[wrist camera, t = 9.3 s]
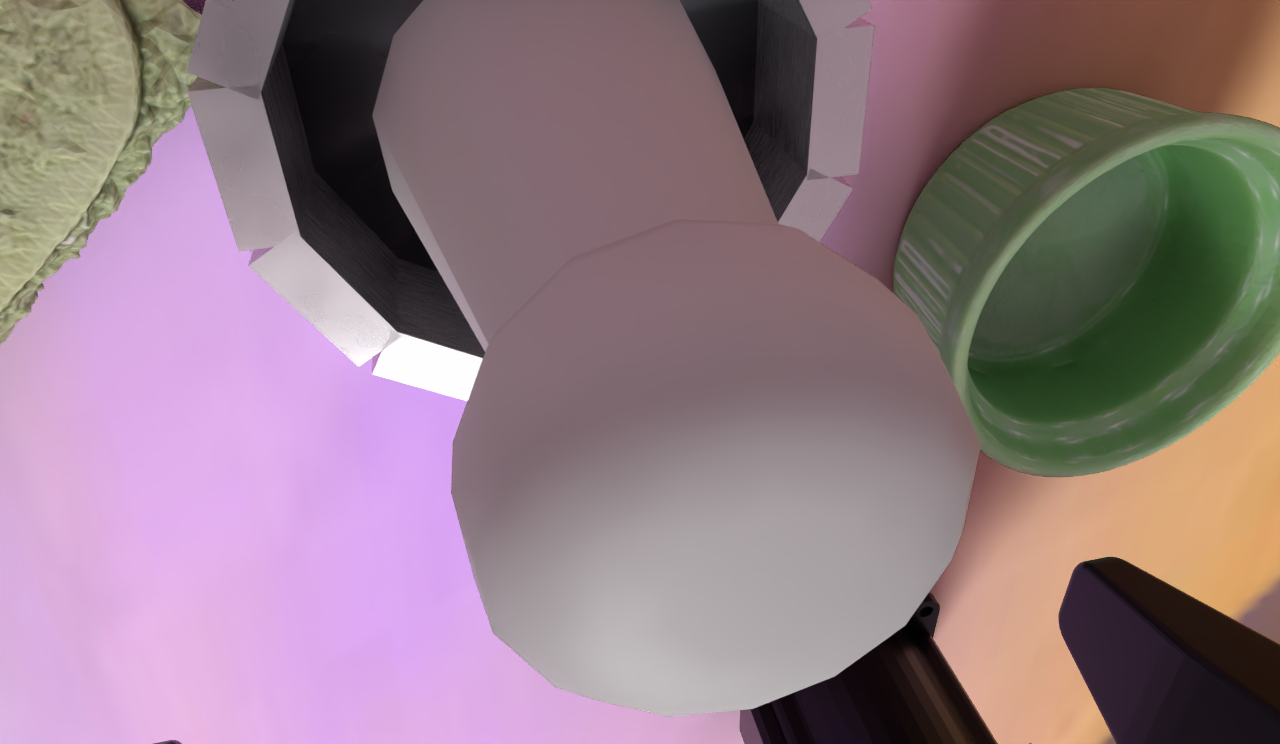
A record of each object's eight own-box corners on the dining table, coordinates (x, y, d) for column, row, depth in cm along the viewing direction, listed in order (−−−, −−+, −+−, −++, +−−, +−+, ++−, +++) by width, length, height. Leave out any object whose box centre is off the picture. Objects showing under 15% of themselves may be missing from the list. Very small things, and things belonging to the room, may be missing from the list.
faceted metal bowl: (808, -277, 16) (915, -291, 12) (776, 276, 22) (842, 363, 19) (142, -252, 14) (65, -260, 11) (314, 342, 20) (297, 451, 17)
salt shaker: (453, 266, 19) (524, 898, 8) (319, -10, 15) (146, 463, 5) (712, 168, 19) (1111, 669, 8) (635, -128, 15) (1143, 86, 5)
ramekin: (1239, 40, 21) (1407, 94, 18) (1137, 354, 26) (1252, 445, 23) (889, 82, 20) (995, 149, 16) (853, 405, 25) (928, 510, 21)
